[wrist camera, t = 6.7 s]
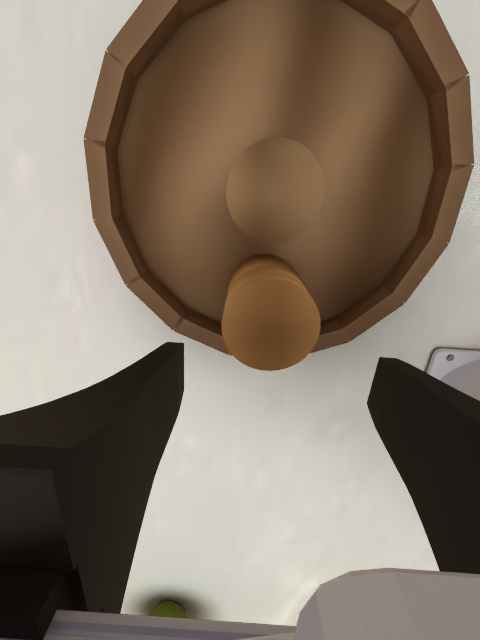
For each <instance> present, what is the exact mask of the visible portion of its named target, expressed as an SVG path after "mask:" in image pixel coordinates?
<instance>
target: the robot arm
mask: <svg viewBox="0 0 480 640" xmlns="http://www.w3.org/2000/svg"><path fill="white" fill-rule="evenodd" d="M450 354H451V355H450ZM448 355H450V357H448V358H446V357H447V356H448ZM183 392H184V343H174V342H166V343H165V344H163V345H161V346H160V347H158V348H157V349H155V350H154V351H152V352H151V353H149V354H148V355H146V356H145V357H143V358H141V359H140V360H138V361H137V362H135V363H134V364H132V365H130V366H128V367H127V368H125V369H123V370H121V371H120V372H118V373H116V374H114V375H113V376H111V377H109V378H107V379H105V380H103V381H101V382H99V383H96V384H94V385H92V386H90V387H88V388H85V389H83V390H80V391H78V392H75V393H72V394H70V395H67V396H64V397H62V398H59V399H56V400H53V401H51V402H48V403H44V404H41V405H38V406H35V407H31V408H28V409H24V410H20V411H17V412H13V413H9V414H5V415H1V416H0V640H480V351H476V350H461V349H445V348H440V349H437V350H436V351H434V353H433V355H432V358H431V361H430V363H429V366H428V369H427V372H424V371H422V370H420V369H418V368H416V367H414V366H412V365H410V364H408V363H406V362H404V361H402V360H399V359H396V358H383V357H379V361H378V364H377V368H376V372H375V375H374V379H373V383H372V386H371V390H370V394H369V397H368V401H367V405H368V408H369V411H370V414H371V417H372V420H373V422H374V425H375V428H376V430H377V432H378V434H379V436H380V438H381V439H382V441H383V443H384V445H385V447H386V449H387V451H388V453H389V455H390V457H391V458H392V460H393V462H394V464H395V466H396V468H397V470H398V472H399V473H400V475H401V477H402V479H403V481H404V483H405V485H406V487H407V489H408V491H409V493H410V495H411V497H412V500H413V502H414V505H415V507H416V510H417V512H418V514H419V517H420V519H421V522H422V524H423V527H424V529H425V532H426V535H427V537H428V540H429V543H430V545H431V548H432V551H433V553H434V556H435V559H436V561H437V564H438V567H439V570H440V571H426V570H412V569H397V568H381V569H370V570H359V571H350V572H348V573H345V574H343V575H341V576H339V577H337V578H334V579H332V580H330V581H328V582H326V583H323V584H321V585H320V586H319V587H318V589H317V590H316V591H315V593H314V594H313V595H312V596H311V598H310V599H309V600H308V602H307V603H306V604H305V606H304V607H303V609H302V610H301V612H300V614H299V618H298V622H297V626H284V625H270V624H256V623H241V622H227V621H212V620H198V619H184V618H169V617H155V616H140V615H126V614H120V612H121V608H122V603H123V599H124V594H125V590H126V586H127V581H128V577H129V573H130V569H131V565H132V561H133V557H134V553H135V549H136V545H137V541H138V537H139V533H140V529H141V525H142V521H143V517H144V513H145V510H146V506H147V502H148V499H149V495H150V491H151V488H152V484H153V480H154V477H155V474H156V471H157V468H158V465H159V463H160V460H161V458H162V455H163V452H164V450H165V447H166V445H167V442H168V440H169V437H170V434H171V432H172V429H173V426H174V424H175V421H176V419H177V416H178V413H179V409H180V405H181V401H182V396H183Z"/></svg>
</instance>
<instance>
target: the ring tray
mask: <svg viewBox="0 0 480 640" xmlns="http://www.w3.org/2000/svg"><path fill="white" fill-rule="evenodd" d="M107 51H108V52H109V53H108V52H106V51H105V55H104V59H103V63H102V67H101V71H100V75H99V79H98V83H97V87H96V91H95V95H94V99H93V103H92V107H91V111H90V115H89V119H88V123H87V127H86V131H85V135H84V138H85V139H87V140H84V146H85V155H86V163H87V172H88V181H89V189H90V198H91V206H92V215H93V219H94V220H95V221H94V223H95V225H96V227H97V229H98V231H99V233H100V235H101V237H102V239H103V241H104V243H105V245H106V247H107V249H108V251H109V253H110V255H111V257H112V259H113V261H114V263H115V265H116V267H117V269H118V271H119V273H120V275H121V277H122V279H123V281H124V283H125V285H126V284H128V285H127V287H128V288H129V289H130V290H131V291H132V292H133V293H134V294H135V295H136V296H137V297H138V298H139V299H141V300H142V301H143V302H144V303H145V304H146V305H147V306H148V307H149V308H150V309H151V310H152V311H153V312H154V313H155V314H156V315H157V316H158V317H159V318H160V319H161V320H163V321H164V322H165V323H166V324H167V325H168V326H169V327H170V328H171V329H172V330H173V329H174V331H175V332H177V333H180V334H182V335H184V336H187V337H189V338H191V339H193V340H196V341H198V342H200V343H203V344H205V345H207V346H209V347H212V348H214V349H216V350H219V351H221V352H223V353H225V354H228V355H229V353H230V355H232V354H231V352H230V351H229V350H228V348H227V346H226V344H225V342H224V339H223V336H222V317H223V312H224V307H225V302H226V297H227V292H228V287H229V282H230V278H231V276H232V273H233V272H234V270H235V269H236V267H237V266H238V265H239V264H240V263H241V262H242V261H244V260H245V259H247V258H249V257H251V256H254V255H258V254H271V255H275V256H278V257H280V258H282V259H284V260H286V261H287V262H288V263H289V264H290V265H291V266H292V267H293V269H294V270H295V272H296V273H297V275H298V277H299V278H300V280H301V281H302V283H303V285H304V286H305V288H306V289H307V291H308V293H309V294H310V296H311V297H312V299H313V301H314V302H315V304H316V306H317V308H318V311H319V314H320V320H321V327H320V333H319V337H318V340H317V342H316V344H315V346H314V348H313V349H312V350H311V352H310V353H312V352H316V351H319V350H323V349H326V348H330V347H333V346H337V345H340V344H344V343H347V342H349V341H351V340H353V339H354V338H356V337H357V336H359V335H360V334H362V333H363V332H364V331H366V330H367V329H369V328H370V327H372V326H373V325H374V324H376V323H377V322H379V321H380V320H382V319H383V318H384V317H386V316H387V315H389V314H390V313H392V312H393V311H395V310H396V309H397V308H399V307H400V306H402V305H403V304H404V303H403V302H406V301H407V300H408V298H409V297H410V296H411V294H412V293H413V292H414V290H415V289H416V287H417V286H418V285H419V283H420V282H421V281H422V279H423V278H424V277H425V275H426V274H427V273H428V271H429V270H430V269H431V267H432V266H433V265H434V263H435V262H436V260H437V259H438V258H439V256H440V255H441V254H442V252H443V251H444V250H445V248H446V247H447V246H448V243H449V242H450V239H451V236H452V233H453V230H454V226H455V223H456V220H457V217H458V214H459V210H460V207H461V204H462V201H463V198H464V195H465V191H466V188H467V185H468V182H469V179H470V176H471V172H472V169H473V166H474V165H471V164H474V154H473V135H472V117H471V98H470V80H469V75H468V76H466V75H467V74H468V71H467V69H466V67H465V65H464V63H463V61H462V59H461V57H460V55H459V53H458V51H457V49H456V47H455V45H454V43H453V41H452V39H451V37H450V35H449V33H448V31H447V29H446V27H445V25H444V23H443V21H442V19H441V17H440V15H439V13H438V11H437V9H436V7H435V5H434V3H433V1H432V0H143V1H142V2H141V3H140V5H139V6H138V7H137V9H136V10H135V11H134V13H133V14H132V16H131V17H130V18H129V20H128V21H127V22H126V24H125V25H124V26H123V28H122V29H121V30H120V32H119V33H118V34H117V36H116V37H115V38H114V40H113V41H112V42H111V44H110V45H109V46H108V48H107ZM465 76H466V77H465ZM446 242H447V243H446ZM402 301H403V302H402ZM348 340H349V341H348Z"/></svg>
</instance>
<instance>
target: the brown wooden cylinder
mask: <svg viewBox="0 0 480 640" xmlns="http://www.w3.org/2000/svg"><path fill="white" fill-rule="evenodd" d="M320 327H321V320H320V314H319V311H318V308H317V306H316V304H315V302H314V301H313V299H312V297H311V296H310V294H309V293H308V291H307V289H306V288H305V286H304V285H303V283H302V281H301V280H300V278H299V277H298V275H297V273H296V272H295V270H294V269H293V267H292V266H291V265H290V264H289V263H288V262H287V261H286V260H284V259H282V258H280V257H278V256H275V255H271V254H258V255H254V256H251V257H249V258H247V259H245V260H244V261H242V262H241V263H240V264H239V265H238V266H237V267H236V269H235V270H234V272H233V273H232V276H231V278H230V282H229V287H228V292H227V297H226V302H225V307H224V312H223V317H222V336H223V339H224V342H225V344H226V346H227V348H228V350H229V351H230V352H231V354H232V355H233V356H234V357H235V358H236V359H238V360H239V361H240V362H242V363H243V364H245V365H247V366H249V367H252V368H255V369H259V370H268V371H272V370H280V369H284V368H288V367H290V366H292V365H295V364H296V363H298V362H300V361H301V360H302V359H304V358H305V357H306V356H307V355H308V354H309V353H310V352H311V350H312V349H313V348H314V346H315V344H316V342H317V340H318V337H319V333H320Z"/></svg>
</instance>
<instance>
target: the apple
mask: <svg viewBox="0 0 480 640" xmlns="http://www.w3.org/2000/svg"><path fill="white" fill-rule="evenodd" d="M147 616H155V617H169V618H184V619H187V616H186V614H185V611H184V609H183V608H182V606H181V605H179V604H178V603H175V602H172V601H168V600H165V601H161V602H160V603H159V604H158V605H157V606H156V607H155V608H154V609H153V610H152V611H151V612H150V613H149V614H148V615H147Z"/></svg>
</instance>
